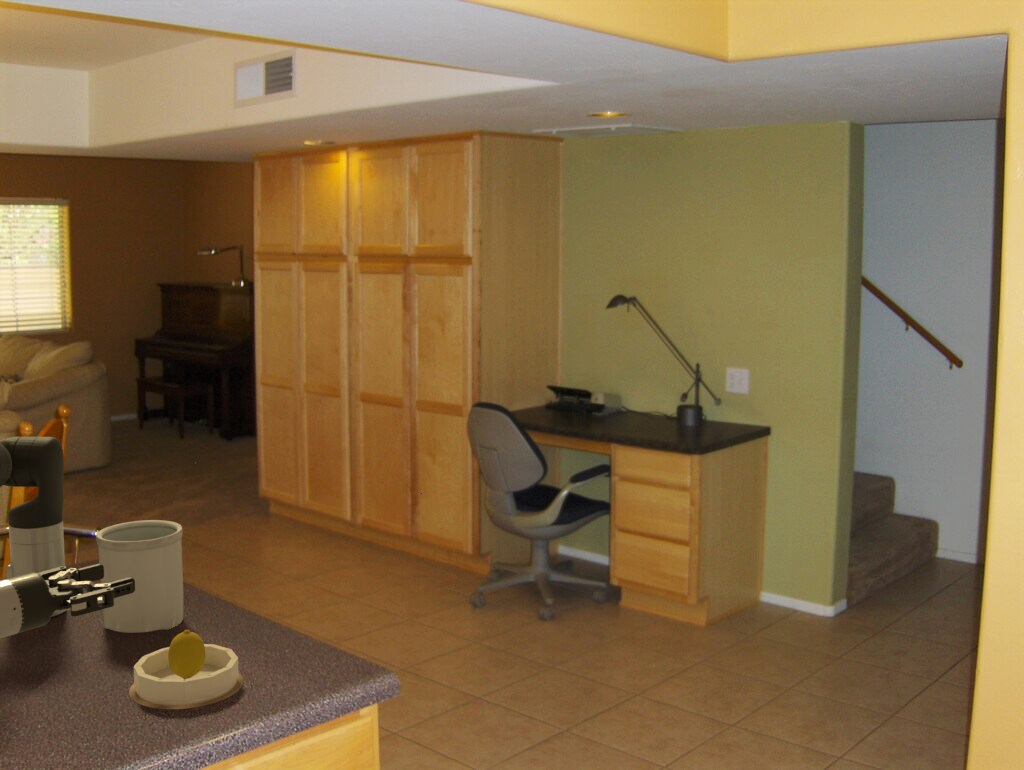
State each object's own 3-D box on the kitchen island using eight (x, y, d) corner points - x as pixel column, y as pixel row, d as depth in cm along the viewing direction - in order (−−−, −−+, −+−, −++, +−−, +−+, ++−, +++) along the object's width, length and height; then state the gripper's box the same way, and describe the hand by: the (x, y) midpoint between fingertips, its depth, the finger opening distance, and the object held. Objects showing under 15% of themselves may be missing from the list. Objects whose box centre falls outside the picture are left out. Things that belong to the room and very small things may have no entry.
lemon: (196, 687, 163) (196, 636, 162) (161, 685, 164) (161, 634, 163) (211, 675, 169) (211, 625, 168) (177, 673, 169) (177, 623, 169)
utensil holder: (83, 635, 189) (79, 539, 187) (123, 607, 204) (120, 517, 201) (163, 640, 187) (160, 543, 185) (198, 611, 202) (195, 521, 200)
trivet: (112, 713, 158) (112, 708, 158) (151, 668, 175) (151, 663, 175) (227, 715, 158) (227, 709, 158) (255, 669, 175) (255, 664, 175)
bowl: (121, 705, 159) (120, 680, 159) (155, 665, 174) (154, 643, 173) (222, 706, 159) (221, 682, 159) (247, 667, 174) (246, 644, 173)
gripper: (30, 593, 138) (143, 563, 151) (-20, 568, 147) (91, 542, 160) (33, 648, 140) (145, 614, 152) (-16, 620, 149) (93, 590, 161)
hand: (117, 577), depth 156 cm, fingers open, 8 cm apart
